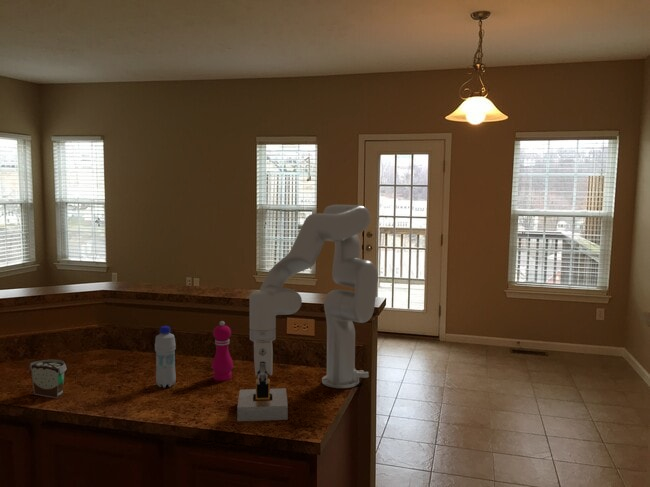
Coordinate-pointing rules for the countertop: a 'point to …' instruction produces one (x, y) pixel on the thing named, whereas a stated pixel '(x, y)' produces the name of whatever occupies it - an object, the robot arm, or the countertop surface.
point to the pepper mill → (222, 353)
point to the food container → (48, 377)
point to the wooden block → (268, 392)
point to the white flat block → (262, 406)
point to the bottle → (165, 357)
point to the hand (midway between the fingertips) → (262, 391)
